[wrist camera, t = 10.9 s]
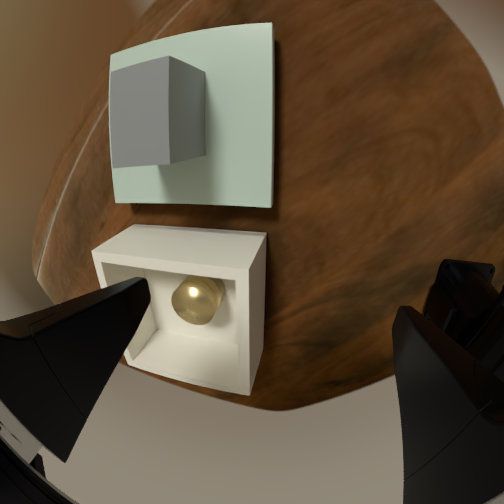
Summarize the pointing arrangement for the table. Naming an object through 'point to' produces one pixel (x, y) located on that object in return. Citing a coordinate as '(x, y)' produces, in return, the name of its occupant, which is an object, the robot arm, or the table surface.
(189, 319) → the brass weight
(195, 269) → the box
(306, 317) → the table surface
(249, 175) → the lid
